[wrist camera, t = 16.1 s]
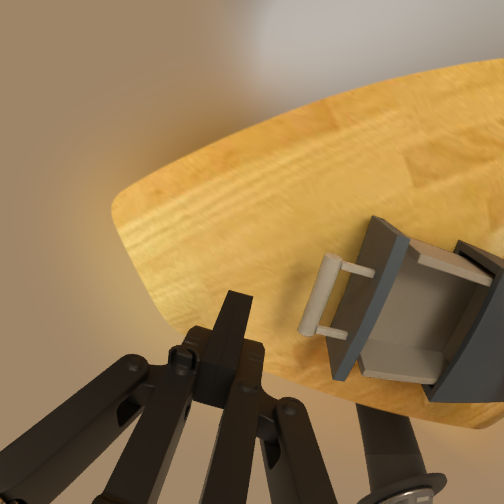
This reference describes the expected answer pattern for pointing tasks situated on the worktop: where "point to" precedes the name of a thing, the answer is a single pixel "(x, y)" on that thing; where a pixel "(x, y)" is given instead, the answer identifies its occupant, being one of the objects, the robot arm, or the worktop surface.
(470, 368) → the cabinet
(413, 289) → the drawer
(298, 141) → the worktop surface
